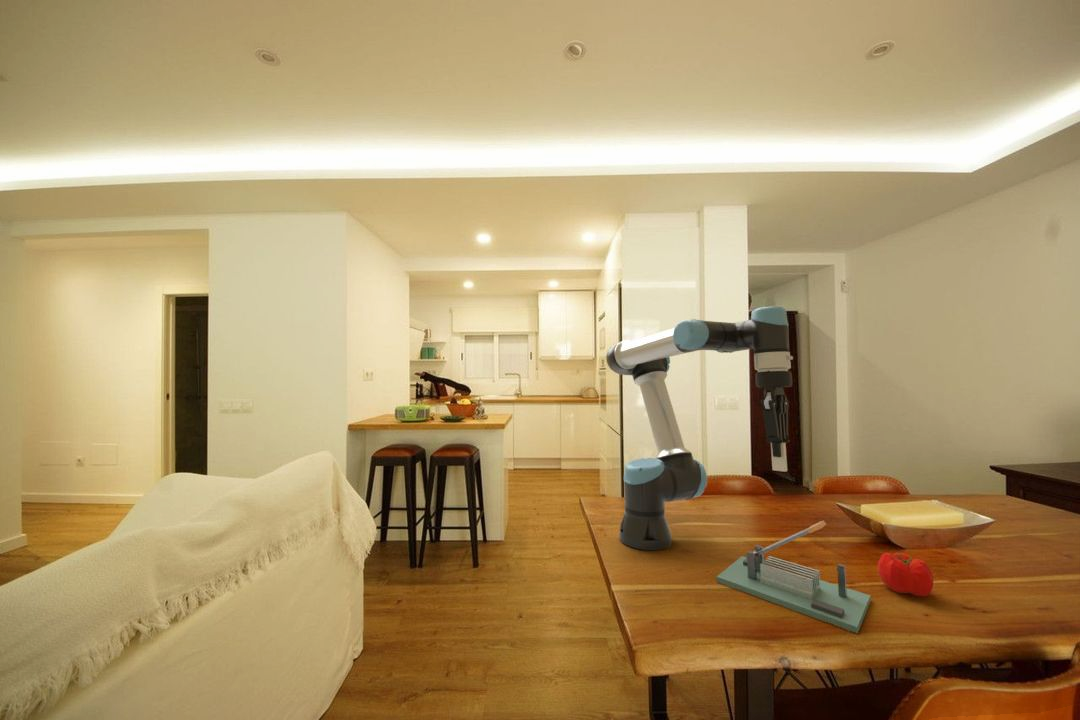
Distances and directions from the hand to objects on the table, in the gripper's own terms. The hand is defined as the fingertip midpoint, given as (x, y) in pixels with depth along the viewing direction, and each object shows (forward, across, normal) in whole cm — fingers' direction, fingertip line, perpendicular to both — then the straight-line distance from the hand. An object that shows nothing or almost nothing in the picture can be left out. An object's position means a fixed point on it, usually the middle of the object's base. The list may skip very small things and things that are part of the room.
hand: (779, 470), depth 91 cm
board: (+26, -1, -1) cm, 26 cm away
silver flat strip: (+16, -1, -1) cm, 16 cm away
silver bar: (+25, -1, -2) cm, 25 cm away
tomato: (+27, +18, -19) cm, 37 cm away
